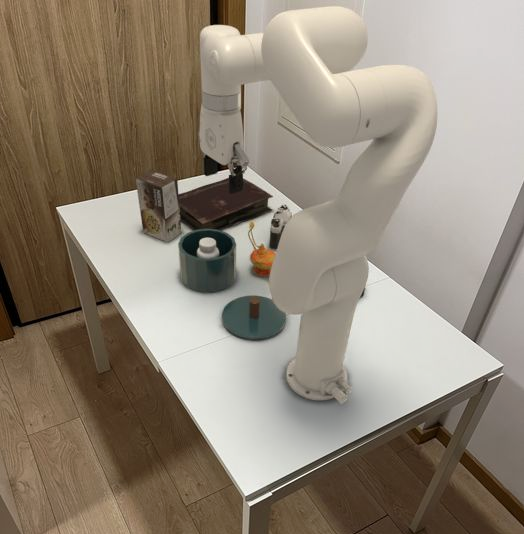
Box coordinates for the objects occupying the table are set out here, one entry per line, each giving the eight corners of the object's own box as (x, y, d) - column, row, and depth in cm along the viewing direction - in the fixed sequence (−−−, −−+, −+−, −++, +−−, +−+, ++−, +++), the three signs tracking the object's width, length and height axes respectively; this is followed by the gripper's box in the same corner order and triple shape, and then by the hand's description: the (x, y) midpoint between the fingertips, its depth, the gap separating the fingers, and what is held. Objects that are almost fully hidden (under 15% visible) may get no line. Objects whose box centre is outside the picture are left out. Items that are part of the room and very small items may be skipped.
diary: (167, 211, 156) (166, 195, 152) (235, 187, 168) (235, 172, 164) (204, 239, 146) (203, 223, 142) (273, 212, 158) (274, 196, 154)
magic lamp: (275, 296, 129) (278, 258, 121) (236, 259, 139) (237, 222, 132) (298, 288, 132) (302, 250, 124) (258, 252, 142) (260, 215, 135)
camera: (295, 254, 142) (299, 224, 137) (266, 250, 143) (269, 219, 137) (302, 233, 152) (306, 203, 147) (275, 228, 153) (278, 199, 147)
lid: (298, 325, 122) (301, 306, 118) (246, 350, 115) (246, 330, 111) (260, 292, 130) (261, 272, 126) (209, 313, 123) (209, 293, 120)
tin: (246, 281, 133) (246, 248, 126) (199, 299, 127) (197, 266, 120) (216, 255, 141) (216, 223, 134) (171, 271, 135) (168, 239, 128)
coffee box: (182, 232, 148) (178, 178, 136) (167, 243, 144) (162, 187, 132) (157, 222, 151) (151, 168, 140) (141, 232, 147) (134, 177, 136)
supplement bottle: (211, 284, 131) (210, 250, 124) (193, 276, 132) (191, 243, 126) (223, 273, 134) (223, 240, 127) (206, 266, 136) (205, 233, 129)
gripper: (182, 90, 107) (187, 172, 119) (230, 117, 97) (231, 203, 109) (213, 84, 110) (216, 164, 122) (263, 109, 100) (260, 194, 112)
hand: (223, 182), depth 115 cm, fingers open, 9 cm apart
